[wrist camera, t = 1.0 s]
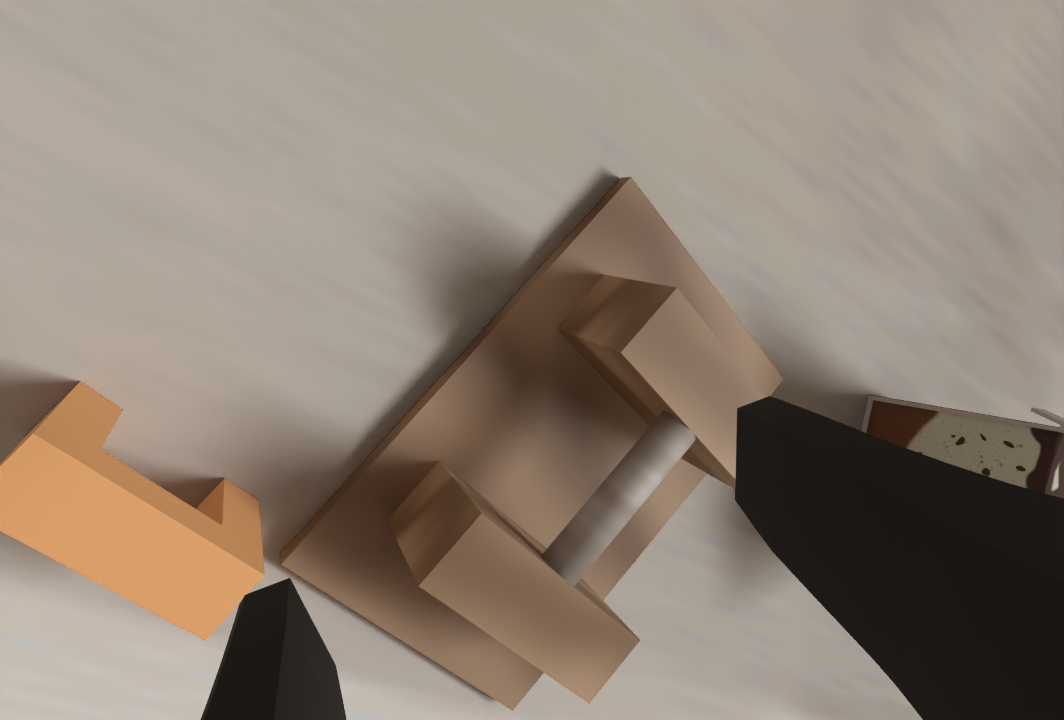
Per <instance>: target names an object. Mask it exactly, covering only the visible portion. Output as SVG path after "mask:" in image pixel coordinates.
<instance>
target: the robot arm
mask: <svg viewBox="0 0 1064 720" xmlns="http://www.w3.org/2000/svg"><path fill="white" fill-rule="evenodd" d="M735 500H736V502H737V503H738V504H739V506H740V507H741V509H742V510H743V512H744V513H745V514H746V516H747V517H748V519H749V520H750V522H751V523H752V524H753V526H754V527H755V529H756V530H757V531H758V533H759V534H760V535H761V537H762V538H763V539H764V541H765V542H766V543H767V545H768V546H769V547H770V549H771V550H772V551H773V552H774V553H775V555H776V556H777V557H778V558H779V559H780V560H781V561H782V562H783V563H784V564H785V566H786V567H787V568H788V569H789V570H790V571H791V572H792V573H793V574H794V575H795V576H796V577H797V579H798V580H799V581H800V582H801V583H802V584H803V585H804V586H805V587H806V588H807V589H808V590H809V592H810V593H811V594H812V595H813V596H814V597H815V598H816V599H817V600H818V601H819V602H820V603H821V604H822V605H823V606H824V607H825V609H826V610H827V611H828V612H829V613H830V614H831V615H832V616H833V617H834V618H835V619H836V620H837V621H838V622H839V623H840V624H841V626H842V627H843V628H844V629H845V630H846V631H847V632H848V633H849V634H850V635H851V636H852V637H853V638H854V639H855V640H856V641H857V643H858V644H859V645H860V646H861V647H862V648H863V649H864V650H865V651H866V652H867V653H868V654H869V655H870V656H871V657H872V658H873V660H874V661H875V662H876V663H877V664H878V665H879V666H880V668H881V669H882V670H883V671H884V672H885V673H886V674H887V676H888V677H889V678H890V679H891V680H892V681H893V682H894V684H895V685H896V686H897V687H898V688H899V690H900V691H901V692H902V693H903V695H904V696H905V697H906V699H907V700H908V701H909V702H910V704H911V705H912V706H913V708H914V709H915V710H916V711H917V713H918V714H919V715H920V716H921V718H922V719H923V720H1064V499H1063V498H1060V497H1056V496H1052V495H1049V494H1045V493H1041V492H1037V491H1034V490H1030V489H1027V488H1024V487H1020V486H1017V485H1013V484H1010V483H1007V482H1004V481H1000V480H997V479H994V478H991V477H988V476H985V475H982V474H979V473H976V472H973V471H970V470H967V469H964V468H961V467H958V466H955V465H952V464H949V463H946V462H943V461H940V460H937V459H935V458H932V457H929V456H926V455H923V454H921V453H918V452H915V451H912V450H910V449H907V448H904V447H902V446H899V445H896V444H894V443H891V442H888V441H886V440H883V439H880V438H878V437H875V436H873V435H870V434H867V433H865V432H862V431H860V430H857V429H855V428H852V427H849V426H847V425H844V424H842V423H839V422H837V421H834V420H832V419H829V418H827V417H824V416H821V415H819V414H816V413H814V412H811V411H809V410H806V409H803V408H801V407H798V406H795V405H793V404H790V403H787V402H785V401H782V400H779V399H776V398H773V397H770V396H768V397H765V398H763V399H760V400H757V401H755V402H752V403H750V404H747V405H744V406H742V407H739V408H737V434H736V482H735ZM201 720H346V715H345V710H344V705H343V699H342V694H341V689H340V684H339V679H338V674H337V669H336V665H335V663H334V661H333V659H332V657H331V655H330V654H329V652H328V650H327V648H326V646H325V644H324V642H323V640H322V638H321V636H320V634H319V633H318V631H317V629H316V627H315V625H314V623H313V621H312V619H311V617H310V615H309V614H308V612H307V610H306V608H305V606H304V604H303V602H302V600H301V598H300V596H299V594H298V593H297V591H296V589H295V587H294V585H293V583H292V581H291V579H290V578H288V579H286V580H283V581H281V582H278V583H275V584H273V585H270V586H267V587H265V588H262V589H259V590H257V591H254V592H252V593H249V594H246V595H245V596H244V597H243V599H242V601H241V602H240V604H239V607H238V611H237V614H236V617H235V621H234V624H233V627H232V630H231V633H230V637H229V640H228V643H227V646H226V649H225V652H224V655H223V658H222V661H221V664H220V667H219V670H218V673H217V676H216V679H215V681H214V684H213V687H212V690H211V693H210V696H209V699H208V701H207V704H206V707H205V709H204V712H203V715H202V717H201Z"/></svg>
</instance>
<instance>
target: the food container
mask: <svg viewBox="0 0 1064 720" xmlns="http://www.w3.org/2000/svg"><path fill="white" fill-rule="evenodd" d="M1031 411H1032V412H1034V413H1036V414H1038V415H1040V416H1043V417H1045V418H1047V419H1049V420H1051V421H1053V422H1055V423H1058V424H1060V425H1061V426H1060V427H1055V426H1049V425H1043V424H1037V423H1031V422H1026V421H1020V420H1014V419H1008V418H1002V417H996V416H991V415H985V414H979V413H973V412H967V411H962V410H956V409H950V408H944V407H938V406H933V405H927V404H921V403H915V402H909V401H904V400H898V399H892V398H886V397H880V396H873V395H869V396H868V401H867V406H866V410H865V415H864V420H863V424H862V429H861V431H862V432H865V433H867V434H870V435H873V436H875V437H878V438H880V439H883V440H886V441H888V442H891V443H894V444H896V445H899V446H902V447H904V448H907V449H910V450H912V451H915V452H918V453H921V454H923V455H926V456H929V457H932V458H935V459H937V460H940V461H943V462H946V463H949V464H952V465H955V466H958V467H961V468H964V469H967V470H970V471H973V472H976V473H979V474H982V475H985V476H988V477H991V478H994V479H997V480H1000V481H1004V482H1007V483H1010V484H1013V485H1017V486H1020V487H1024V488H1027V489H1030V490H1034V491H1037V492H1041V493H1045V494H1049V495H1052V496H1056V497H1060V498H1063V499H1064V418H1062V417H1060V416H1057V415H1055V414H1053V413H1051V412H1048V411H1046V410H1044V409H1037V408H1032V409H1031Z"/></svg>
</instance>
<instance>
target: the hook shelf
mask: <svg viewBox="0 0 1064 720" xmlns="http://www.w3.org/2000/svg"><path fill="white" fill-rule="evenodd" d="M783 380H784V378H783V377H782V375H781V374H780V373H779V371H778V370H777V369H776V367H775V366H774V365H773V363H772V362H771V361H770V360H769V358H768V357H767V356H766V354H765V353H764V352H763V350H762V349H761V348H760V346H759V345H758V344H757V342H756V341H755V340H754V338H753V337H752V336H751V334H750V333H749V332H748V331H747V329H746V328H745V327H744V325H743V324H742V323H741V321H740V320H739V319H738V317H737V316H736V315H735V313H734V312H733V311H732V309H731V308H730V307H729V305H728V304H727V303H726V302H725V300H724V299H723V298H722V296H721V295H720V294H719V292H718V291H717V290H716V288H715V287H714V286H713V284H712V283H711V282H710V280H709V279H708V278H707V276H706V275H705V274H704V272H703V271H702V270H701V269H700V267H699V266H698V265H697V263H696V262H695V261H694V259H693V258H692V257H691V255H690V254H689V253H688V251H687V250H686V249H685V247H684V246H683V245H682V243H681V242H680V241H679V240H678V238H677V237H676V236H675V234H674V233H673V232H672V230H671V229H670V228H669V226H668V225H667V224H666V222H665V221H664V220H663V218H662V217H661V216H660V214H659V213H658V212H657V211H656V209H655V208H654V207H653V205H652V204H651V203H650V201H649V200H648V199H647V197H646V196H645V195H644V193H643V192H642V191H641V189H640V188H639V187H638V185H637V184H636V183H635V181H634V180H633V179H632V178H631V177H626V178H620V179H619V180H618V182H617V183H616V184H615V185H614V186H613V187H612V188H611V189H610V190H609V192H608V193H607V194H606V195H605V196H604V197H603V198H602V199H601V200H600V201H599V203H598V204H597V205H596V206H595V207H594V208H593V209H592V210H591V211H590V212H589V214H588V215H587V216H586V217H585V218H584V219H583V220H582V221H581V222H580V224H579V225H578V226H577V227H576V228H575V229H574V230H573V231H572V232H571V233H570V235H569V236H568V237H567V238H566V239H565V240H564V241H563V242H562V243H561V244H560V246H559V247H558V248H557V249H556V250H555V251H554V252H553V253H552V254H551V256H550V257H549V258H548V259H547V260H546V261H545V262H544V263H543V264H542V265H541V267H540V268H539V269H538V270H537V271H536V272H535V273H534V274H533V275H532V277H531V278H530V279H529V280H528V281H527V282H526V283H525V284H524V285H523V286H522V288H521V289H520V290H519V291H518V292H517V293H516V294H515V295H514V296H513V297H512V299H511V300H510V301H509V302H508V303H507V304H506V305H505V306H504V307H503V309H502V310H501V311H500V312H499V313H498V314H497V315H496V316H495V317H494V318H493V320H492V321H491V322H490V323H489V324H488V325H487V326H486V327H485V328H484V330H483V331H482V332H481V333H480V334H479V335H478V336H477V337H476V338H475V339H474V341H473V342H472V343H471V344H470V345H469V346H468V347H467V348H466V349H465V350H464V352H463V353H462V354H461V355H460V356H459V357H458V358H457V359H456V360H455V362H454V363H453V364H452V365H451V366H450V367H449V368H448V369H447V370H446V371H445V373H444V374H443V375H442V376H441V377H440V378H439V379H438V380H437V381H436V382H435V384H434V385H433V386H432V387H431V388H430V389H429V390H428V391H427V392H426V394H425V395H424V396H423V397H422V398H421V399H420V400H419V401H418V402H417V403H416V405H415V406H414V407H413V408H412V409H411V410H410V411H409V412H408V413H407V415H406V416H405V417H404V418H403V419H402V420H401V421H400V422H399V423H398V424H397V426H396V427H395V428H394V429H393V430H392V431H391V432H390V433H389V434H388V435H387V437H386V438H385V439H384V440H383V441H382V442H381V443H380V444H379V445H378V447H377V448H376V449H375V450H374V451H373V452H372V453H371V454H370V455H369V456H368V458H367V459H366V460H365V461H364V462H363V463H362V464H361V465H360V466H359V468H358V469H357V470H356V471H355V472H354V473H353V474H352V475H351V476H350V477H349V479H348V480H347V481H346V482H345V483H344V484H343V485H342V486H341V487H340V488H339V490H338V491H337V492H336V493H335V494H334V495H333V496H332V497H331V498H330V500H329V501H328V502H327V503H326V504H325V505H324V506H323V507H322V508H321V509H320V511H319V512H318V513H317V514H316V515H315V516H314V517H313V518H312V519H311V520H310V522H309V523H308V524H307V525H306V526H305V527H304V528H303V529H302V530H301V532H300V533H299V534H298V535H297V536H296V537H295V538H294V539H293V540H292V541H291V543H290V544H289V545H288V546H287V547H286V548H285V549H284V550H283V551H282V553H281V554H280V561H281V565H282V566H284V567H285V568H287V569H289V570H290V571H292V572H293V573H295V574H297V575H298V576H300V577H301V578H303V579H304V580H306V581H308V582H309V583H311V584H312V585H314V586H316V587H317V588H319V589H320V590H322V591H324V592H325V593H327V594H328V595H330V596H331V597H333V598H335V599H336V600H338V601H339V602H341V603H343V604H344V605H346V606H347V607H349V608H351V609H352V610H354V611H355V612H357V613H358V614H360V615H362V616H363V617H365V618H366V619H368V620H370V621H371V622H373V623H374V624H376V625H378V626H379V627H381V628H382V629H384V630H385V631H387V632H389V633H390V634H392V635H393V636H395V637H397V638H398V639H400V640H401V641H403V642H405V643H406V644H408V645H409V646H411V647H412V648H414V649H416V650H417V651H419V652H420V653H422V654H424V655H425V656H427V657H428V658H430V659H432V660H433V661H435V662H436V663H438V664H439V665H441V666H443V667H444V668H446V669H447V670H449V671H451V672H452V673H454V674H455V675H457V676H459V677H460V678H462V679H463V680H465V681H466V682H468V683H470V684H471V685H473V686H474V687H476V688H478V689H479V690H481V691H482V692H484V693H485V694H487V695H489V696H490V697H492V698H493V699H495V700H497V701H498V702H500V703H501V704H503V705H505V706H506V707H508V708H509V709H511V710H512V711H513V710H514V708H515V707H516V706H517V705H518V703H519V702H520V701H521V700H522V699H523V697H524V696H525V695H526V694H527V692H528V691H529V690H530V689H531V688H532V686H533V685H534V684H535V683H536V681H537V680H538V679H539V678H540V677H541V675H542V674H543V673H545V674H547V675H548V676H550V677H551V678H553V679H554V680H556V681H557V682H558V683H560V684H561V685H563V686H564V687H566V688H567V689H569V690H570V691H572V692H573V693H574V694H576V695H577V696H579V697H580V698H582V699H583V700H585V701H586V702H588V703H590V702H591V701H592V700H593V698H594V697H595V696H596V695H597V693H598V692H599V691H600V690H601V688H602V687H603V686H604V685H605V683H606V682H607V681H608V680H609V678H610V677H611V676H612V675H613V673H614V672H615V671H616V670H617V668H618V667H619V666H620V665H621V663H622V662H623V661H624V660H625V658H626V657H627V656H628V655H629V653H630V652H631V651H632V650H633V648H634V647H635V646H636V645H637V643H638V642H639V641H640V640H639V638H638V637H637V636H636V635H635V634H634V633H633V632H632V631H631V630H630V629H629V628H628V627H627V626H626V625H625V624H624V622H623V621H622V620H621V619H620V618H619V617H618V616H617V615H616V614H615V613H614V612H613V611H612V610H611V609H610V607H609V606H608V605H607V604H606V603H605V602H604V601H603V600H604V598H605V597H606V596H607V595H608V594H609V592H610V591H611V590H612V589H613V587H614V586H615V585H616V584H617V583H618V581H619V580H620V579H621V578H622V576H623V575H624V574H625V573H626V572H627V570H628V569H629V568H630V567H631V565H632V564H633V563H634V562H635V561H636V559H637V558H638V557H639V556H640V554H641V553H642V552H643V551H644V550H645V548H646V547H647V546H648V545H649V543H650V542H651V541H652V540H653V539H654V537H655V536H656V535H657V534H658V532H659V531H660V530H661V529H662V528H663V526H664V525H665V524H666V523H667V522H668V520H669V519H670V518H671V517H672V515H673V514H674V513H675V512H676V511H677V509H678V508H679V507H680V506H681V504H682V503H683V502H684V501H685V500H686V498H687V497H688V496H689V495H690V493H691V492H692V491H693V490H694V489H695V487H696V486H697V485H698V484H699V482H700V481H701V480H702V479H703V478H704V476H705V475H706V474H707V473H708V474H709V475H711V476H713V477H715V478H716V479H718V480H720V481H722V482H724V483H725V484H727V485H729V486H731V487H732V488H734V489H735V482H736V434H737V408H739V407H742V406H744V405H747V404H750V403H752V402H755V401H757V400H760V399H763V398H765V397H768V396H771V394H772V393H773V392H774V391H775V390H776V388H777V387H778V386H779V385H780V384H781V382H782V381H783Z"/></svg>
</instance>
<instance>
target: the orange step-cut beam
mask: <svg viewBox="0 0 1064 720" xmlns="http://www.w3.org/2000/svg"><path fill="white" fill-rule="evenodd" d="M122 410H123V409H121V408H120V407H118V406H117V405H115V404H114V403H112V402H111V401H109V400H108V399H106V398H105V397H103V396H102V395H100V394H99V393H97V392H96V391H94V390H93V389H91V388H90V387H88V386H87V385H85V384H84V383H82V382H81V381H80V382H79V383H78V384H77V385H76V386H75V387H74V388H73V389H72V390H71V391H70V392H69V393H68V394H67V395H66V396H65V397H64V398H63V399H62V400H61V401H60V402H59V403H58V404H57V405H56V406H55V407H54V408H53V409H52V410H51V411H50V412H49V413H48V414H47V415H46V416H45V417H44V418H43V419H42V420H41V421H40V422H39V423H38V424H37V425H36V426H35V427H34V428H33V429H32V430H31V431H30V432H29V433H28V434H27V435H26V436H25V437H24V438H23V440H22V441H21V442H20V443H19V444H18V445H17V446H16V447H15V448H14V449H13V450H12V451H11V452H10V454H9V455H8V456H7V457H6V458H5V459H4V460H3V461H2V462H1V463H0V531H1V532H3V533H5V534H7V535H9V536H11V537H13V538H14V539H16V540H18V541H20V542H22V543H24V544H26V545H27V546H29V547H31V548H33V549H35V550H37V551H39V552H41V553H42V554H44V555H46V556H48V557H50V558H52V559H54V560H55V561H57V562H59V563H61V564H63V565H65V566H67V567H69V568H70V569H72V570H74V571H76V572H78V573H80V574H82V575H84V576H85V577H87V578H89V579H91V580H93V581H95V582H97V583H98V584H100V585H102V586H104V587H106V588H108V589H110V590H112V591H113V592H115V593H117V594H119V595H121V596H123V597H125V598H126V599H128V600H130V601H132V602H134V603H136V604H138V605H140V606H141V607H143V608H145V609H147V610H149V611H151V612H153V613H154V614H156V615H158V616H160V617H162V618H164V619H166V620H168V621H169V622H171V623H173V624H175V625H177V626H179V627H181V628H183V629H184V630H186V631H188V632H190V633H192V634H194V635H196V636H197V637H199V638H201V639H203V640H206V639H207V638H208V637H209V636H210V635H211V634H212V633H213V632H214V630H215V629H216V628H217V627H218V626H219V625H220V624H221V623H222V622H223V621H224V619H225V618H226V617H227V616H228V615H229V614H230V613H231V612H232V611H233V609H234V608H235V607H236V606H237V605H238V604H239V603H240V602H241V601H242V599H243V597H244V596H245V595H246V594H248V593H249V592H250V591H251V590H252V588H253V587H254V586H255V585H256V584H257V583H258V582H259V581H260V580H261V579H262V577H263V576H264V561H263V548H262V535H261V521H260V508H259V500H257V499H256V498H254V497H253V496H251V495H250V494H248V493H247V492H245V491H244V490H242V489H241V488H239V487H238V486H236V485H235V484H233V483H232V482H230V481H229V480H227V479H226V478H224V479H223V480H222V481H221V482H220V483H219V484H218V485H217V486H216V487H215V488H214V489H213V491H212V492H211V493H210V494H209V495H208V496H207V497H206V498H205V499H204V500H203V501H202V502H201V503H200V504H199V506H198V507H197V508H196V509H195V508H193V507H192V506H190V505H189V504H187V503H185V502H184V501H182V500H181V499H179V498H177V497H176V496H174V495H173V494H171V493H170V492H168V491H166V490H165V489H163V488H162V487H160V486H158V485H157V484H155V483H154V482H152V481H151V480H149V479H147V478H146V477H144V476H143V475H141V474H139V473H138V472H136V471H135V470H133V469H132V468H130V467H128V466H127V465H125V464H124V463H122V462H120V461H119V460H117V459H116V458H114V457H113V456H111V455H109V454H108V453H106V452H105V451H103V450H101V447H102V445H103V444H104V442H105V440H106V438H107V437H108V435H109V433H110V431H111V430H112V428H113V426H114V424H115V423H116V421H117V419H118V417H119V416H120V414H121V412H122Z"/></svg>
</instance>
